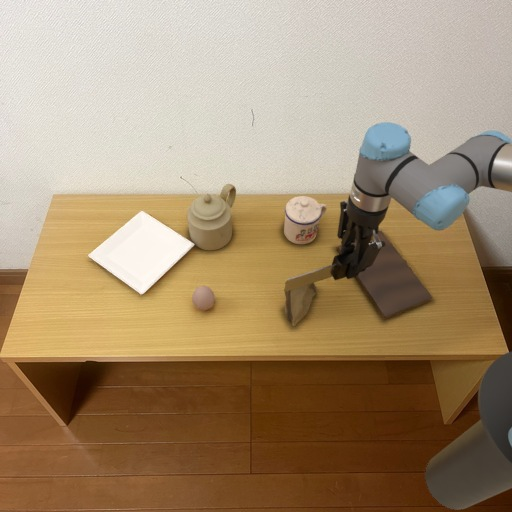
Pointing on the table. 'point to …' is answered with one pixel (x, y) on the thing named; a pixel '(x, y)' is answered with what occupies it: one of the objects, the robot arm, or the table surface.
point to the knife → (323, 272)
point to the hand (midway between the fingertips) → (348, 270)
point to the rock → (298, 302)
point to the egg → (203, 298)
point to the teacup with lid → (302, 219)
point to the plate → (141, 251)
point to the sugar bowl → (211, 219)
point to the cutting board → (391, 282)
